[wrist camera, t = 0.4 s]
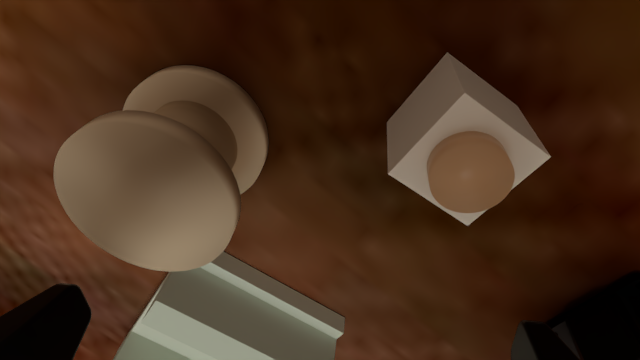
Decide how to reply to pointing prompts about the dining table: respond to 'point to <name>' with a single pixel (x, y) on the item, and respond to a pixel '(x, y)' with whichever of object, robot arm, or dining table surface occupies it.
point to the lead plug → (461, 142)
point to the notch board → (231, 318)
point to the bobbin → (165, 169)
